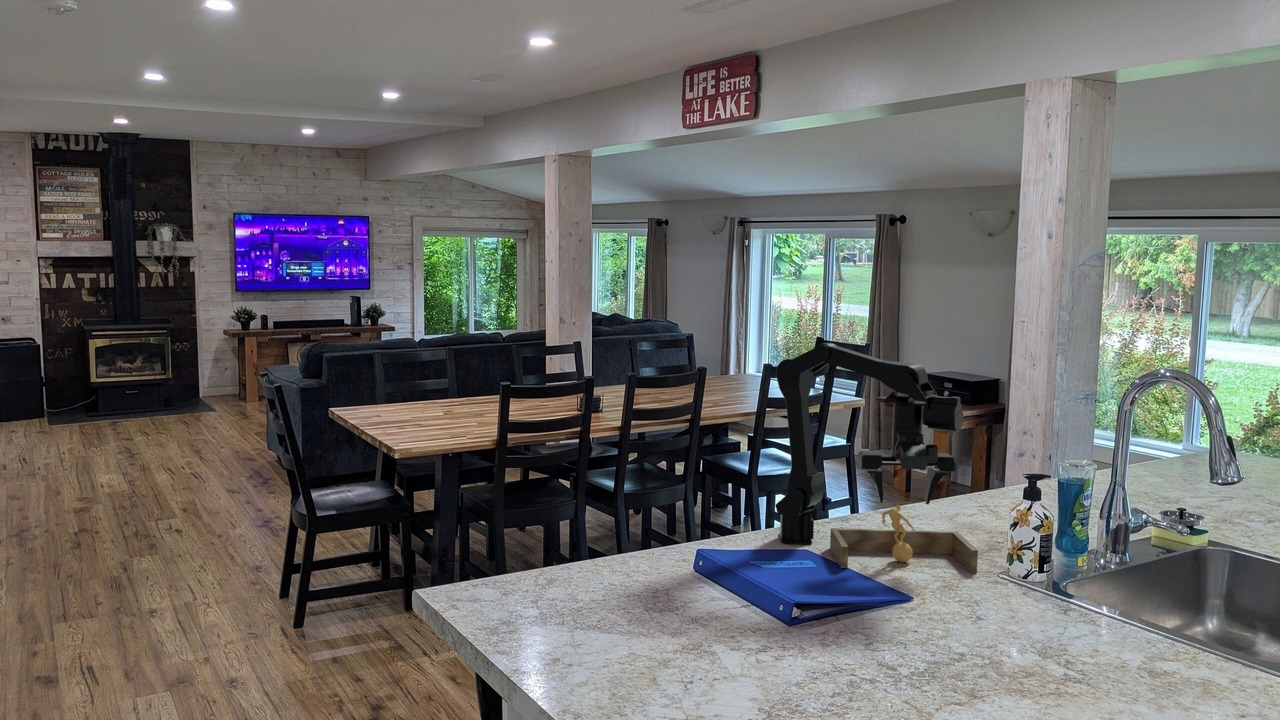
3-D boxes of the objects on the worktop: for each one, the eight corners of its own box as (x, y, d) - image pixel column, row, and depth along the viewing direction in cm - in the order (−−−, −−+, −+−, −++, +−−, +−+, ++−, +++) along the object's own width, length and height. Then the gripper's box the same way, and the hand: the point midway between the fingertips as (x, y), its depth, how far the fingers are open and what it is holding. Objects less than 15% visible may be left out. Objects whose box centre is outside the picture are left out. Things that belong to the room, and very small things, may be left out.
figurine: (924, 565, 193) (927, 506, 192) (904, 570, 190) (906, 510, 189) (892, 555, 200) (895, 498, 199) (872, 559, 197) (874, 501, 196)
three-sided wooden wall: (841, 568, 190) (842, 546, 190) (830, 548, 204) (830, 528, 204) (976, 572, 189) (977, 550, 189) (956, 552, 203) (957, 531, 203)
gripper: (868, 431, 186) (865, 511, 187) (966, 434, 185) (962, 514, 186) (857, 423, 197) (854, 498, 198) (950, 425, 196) (946, 501, 198)
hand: (904, 503), depth 195 cm, fingers open, 9 cm apart
